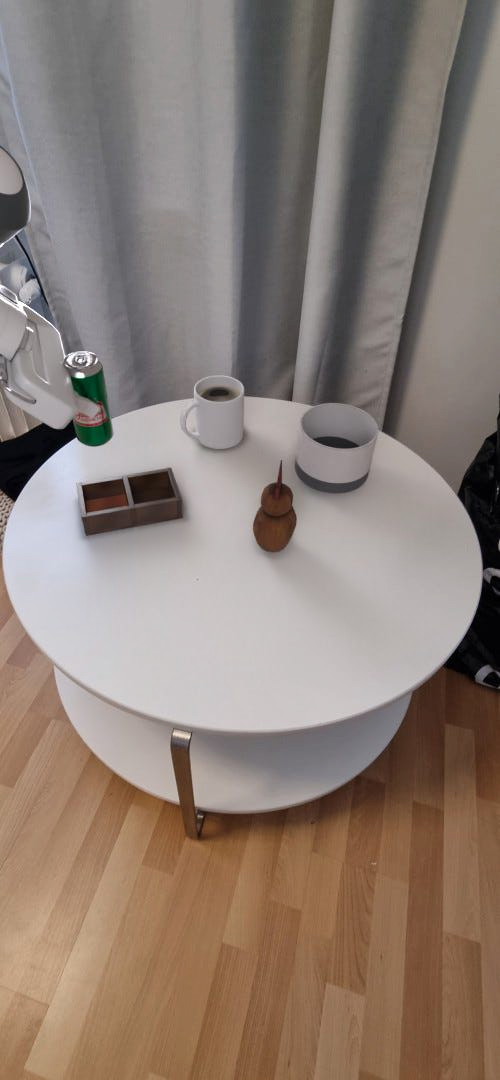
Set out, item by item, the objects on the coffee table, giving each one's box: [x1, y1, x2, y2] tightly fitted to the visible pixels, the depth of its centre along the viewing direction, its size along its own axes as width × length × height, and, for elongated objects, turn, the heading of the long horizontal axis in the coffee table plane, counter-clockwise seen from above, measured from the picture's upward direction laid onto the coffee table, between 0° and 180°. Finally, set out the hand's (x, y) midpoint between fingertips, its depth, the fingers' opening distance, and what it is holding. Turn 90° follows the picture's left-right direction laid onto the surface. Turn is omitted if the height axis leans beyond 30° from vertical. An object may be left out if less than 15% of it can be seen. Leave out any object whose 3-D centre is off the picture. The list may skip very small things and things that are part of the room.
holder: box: [75, 467, 184, 537], centre depth 94 cm, size 15×8×4 cm, turn 107°
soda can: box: [63, 351, 114, 448], centre depth 77 cm, size 5×5×12 cm
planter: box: [294, 402, 380, 494], centre depth 99 cm, size 13×13×10 cm
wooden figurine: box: [252, 459, 298, 553], centre depth 86 cm, size 7×6×15 cm
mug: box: [179, 374, 245, 450], centre depth 106 cm, size 11×10×10 cm
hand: (92, 396), depth 77 cm, fingers closed on soda can, 5 cm apart
